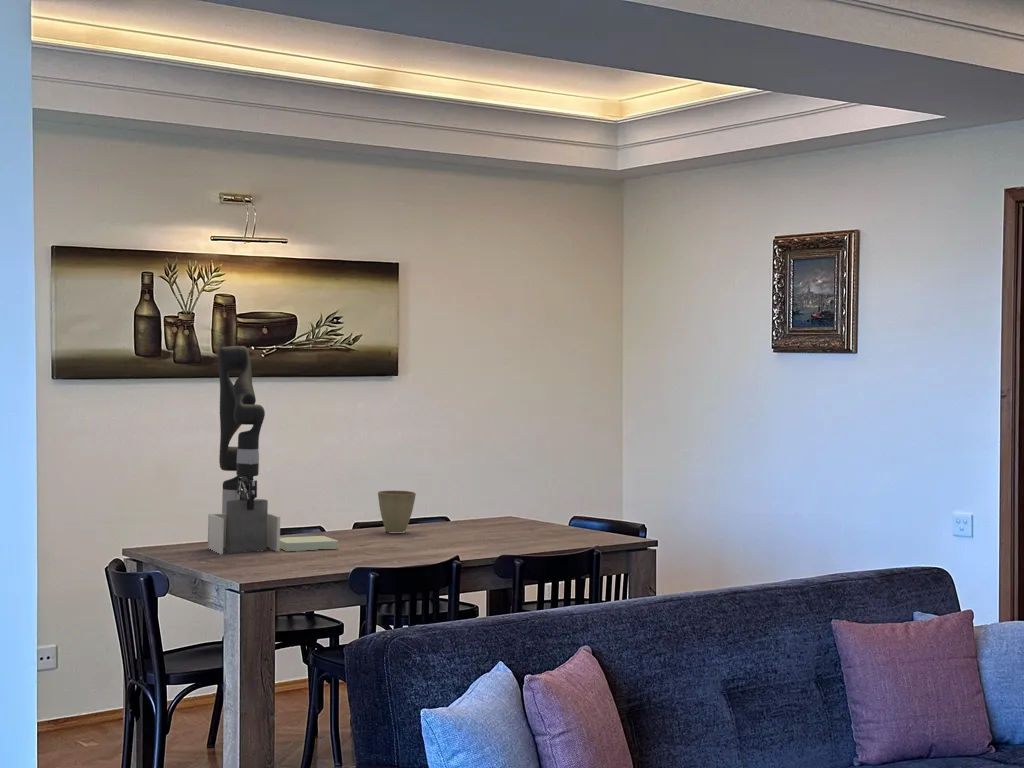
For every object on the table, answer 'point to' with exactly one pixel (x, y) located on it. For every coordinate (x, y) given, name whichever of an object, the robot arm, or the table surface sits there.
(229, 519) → the flask
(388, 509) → the plant pot
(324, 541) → the stand
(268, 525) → the bay
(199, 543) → the table surface
